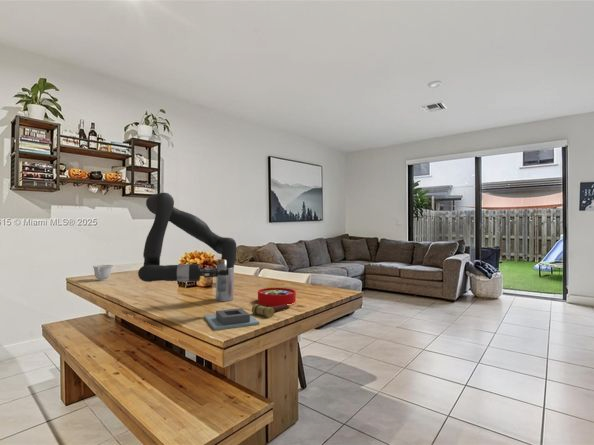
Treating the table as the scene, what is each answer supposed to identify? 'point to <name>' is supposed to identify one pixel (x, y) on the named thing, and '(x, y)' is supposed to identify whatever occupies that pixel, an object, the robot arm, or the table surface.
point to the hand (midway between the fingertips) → (228, 271)
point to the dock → (219, 326)
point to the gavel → (267, 310)
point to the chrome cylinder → (222, 276)
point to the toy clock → (276, 296)
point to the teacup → (102, 271)
